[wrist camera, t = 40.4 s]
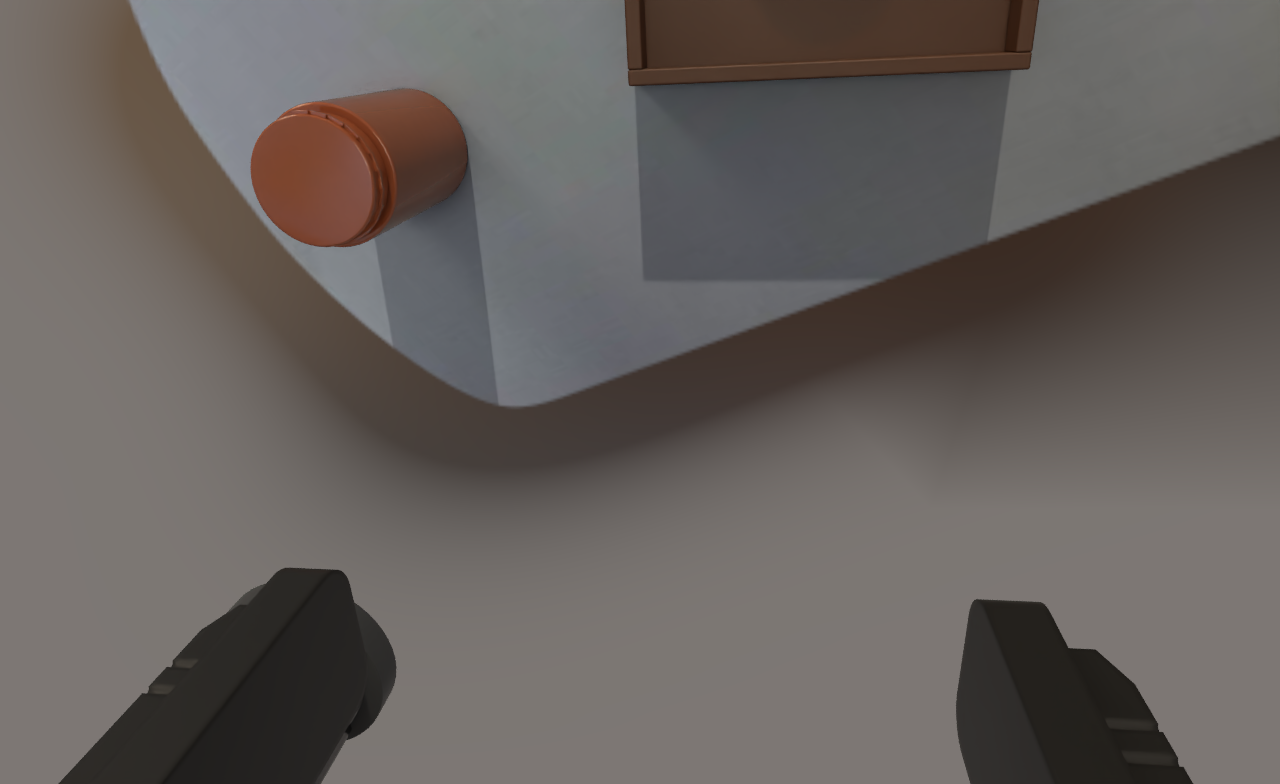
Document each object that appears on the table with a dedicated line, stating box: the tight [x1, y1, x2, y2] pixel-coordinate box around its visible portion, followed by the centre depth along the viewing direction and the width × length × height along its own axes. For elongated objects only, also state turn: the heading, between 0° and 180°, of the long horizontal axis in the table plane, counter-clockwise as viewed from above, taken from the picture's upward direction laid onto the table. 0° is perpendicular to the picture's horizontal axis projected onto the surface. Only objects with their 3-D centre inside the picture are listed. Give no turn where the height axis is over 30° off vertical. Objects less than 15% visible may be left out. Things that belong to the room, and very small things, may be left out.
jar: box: [251, 88, 467, 247], centre depth 32 cm, size 5×5×9 cm
